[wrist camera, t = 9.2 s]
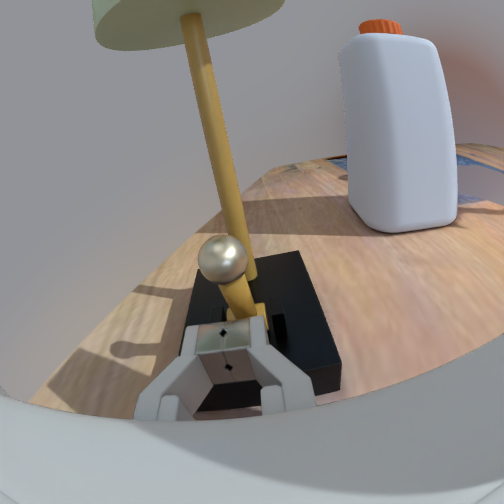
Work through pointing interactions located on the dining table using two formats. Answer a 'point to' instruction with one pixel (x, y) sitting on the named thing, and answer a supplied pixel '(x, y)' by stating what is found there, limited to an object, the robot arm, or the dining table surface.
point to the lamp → (229, 190)
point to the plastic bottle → (397, 130)
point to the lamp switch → (230, 275)
